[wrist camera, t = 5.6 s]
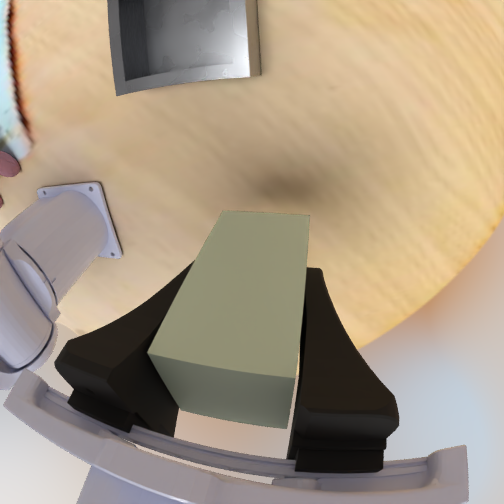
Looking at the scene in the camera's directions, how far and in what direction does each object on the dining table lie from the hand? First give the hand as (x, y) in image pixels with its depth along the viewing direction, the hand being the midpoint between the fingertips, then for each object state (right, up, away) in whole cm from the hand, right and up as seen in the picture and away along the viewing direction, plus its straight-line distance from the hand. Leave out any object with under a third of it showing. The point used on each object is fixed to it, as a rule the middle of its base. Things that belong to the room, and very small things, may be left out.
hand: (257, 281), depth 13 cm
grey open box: (-4, +16, +1) cm, 16 cm away
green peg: (0, +1, +2) cm, 2 cm away
